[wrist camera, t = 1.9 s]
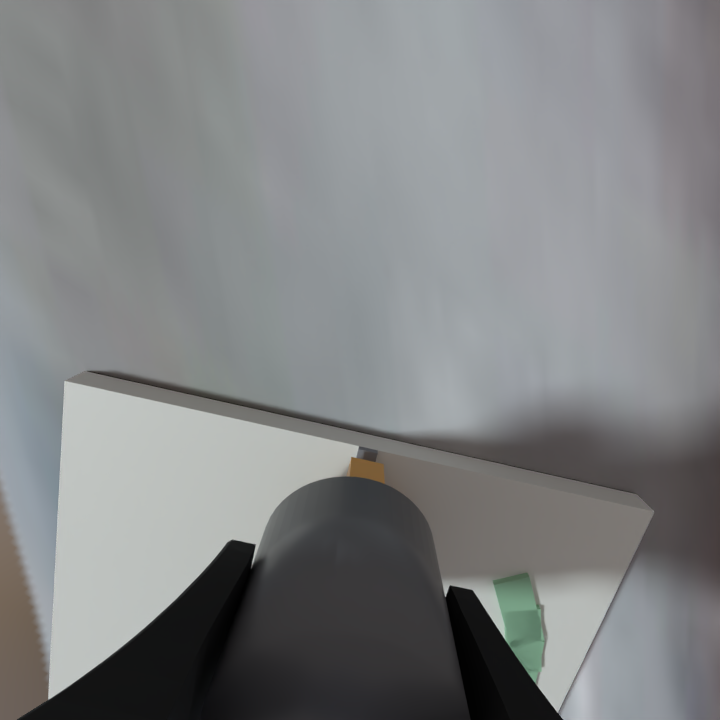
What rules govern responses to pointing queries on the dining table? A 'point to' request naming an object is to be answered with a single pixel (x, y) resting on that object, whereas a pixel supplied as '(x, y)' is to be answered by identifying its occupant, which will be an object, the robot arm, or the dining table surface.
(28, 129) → the dining table surface
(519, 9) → the dining table surface
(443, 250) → the dining table surface
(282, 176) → the dining table surface
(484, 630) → the robot arm
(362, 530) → the dial knob
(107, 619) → the dial plate
